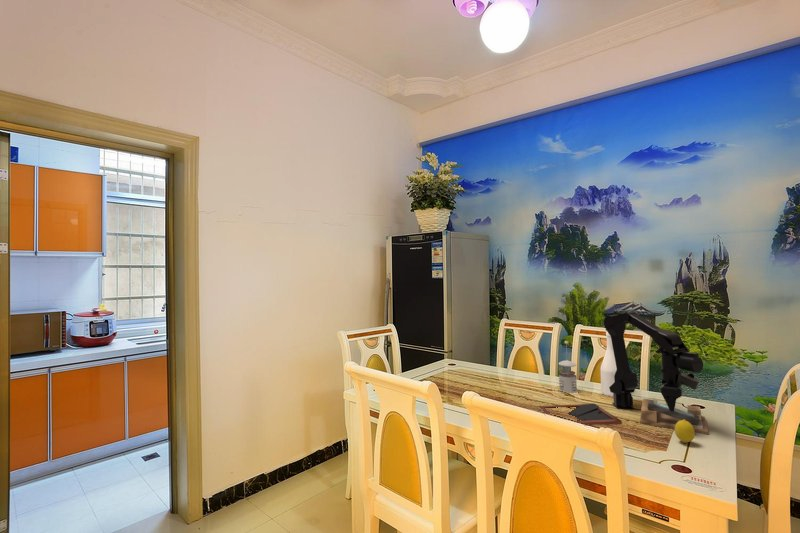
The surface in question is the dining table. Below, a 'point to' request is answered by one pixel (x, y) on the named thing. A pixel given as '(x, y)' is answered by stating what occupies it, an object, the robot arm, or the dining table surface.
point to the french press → (567, 381)
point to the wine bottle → (608, 368)
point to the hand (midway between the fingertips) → (671, 407)
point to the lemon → (684, 431)
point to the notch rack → (670, 418)
